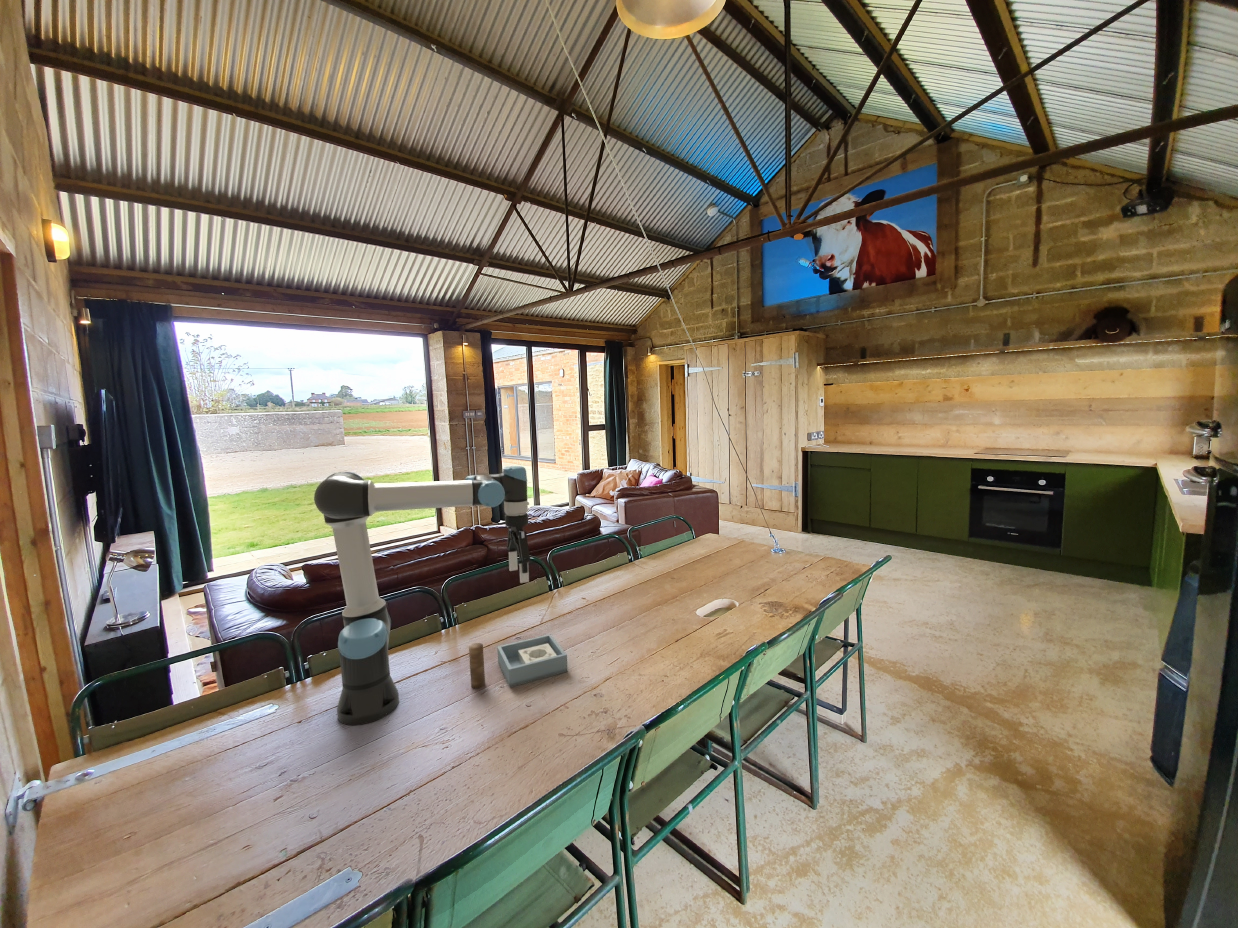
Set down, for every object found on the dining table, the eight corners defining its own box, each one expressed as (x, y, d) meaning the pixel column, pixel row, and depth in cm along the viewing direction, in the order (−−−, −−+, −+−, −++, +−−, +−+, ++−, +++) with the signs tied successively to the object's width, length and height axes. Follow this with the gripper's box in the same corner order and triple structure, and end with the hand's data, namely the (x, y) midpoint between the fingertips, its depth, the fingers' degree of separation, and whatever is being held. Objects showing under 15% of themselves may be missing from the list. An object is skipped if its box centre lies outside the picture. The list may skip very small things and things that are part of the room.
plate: (526, 673, 146) (526, 664, 146) (518, 659, 155) (518, 650, 155) (558, 665, 151) (557, 656, 150) (548, 651, 160) (547, 643, 159)
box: (509, 687, 141) (508, 669, 141) (498, 662, 156) (497, 646, 155) (567, 671, 149) (566, 654, 148) (551, 649, 163) (550, 633, 163)
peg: (472, 689, 140) (470, 650, 139) (470, 682, 144) (467, 644, 143) (486, 685, 142) (484, 647, 141) (483, 679, 146) (481, 641, 144)
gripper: (539, 519, 149) (541, 585, 151) (517, 506, 171) (519, 564, 173) (515, 521, 145) (517, 589, 148) (496, 508, 168) (498, 567, 170)
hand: (518, 576), depth 160 cm, fingers open, 13 cm apart
